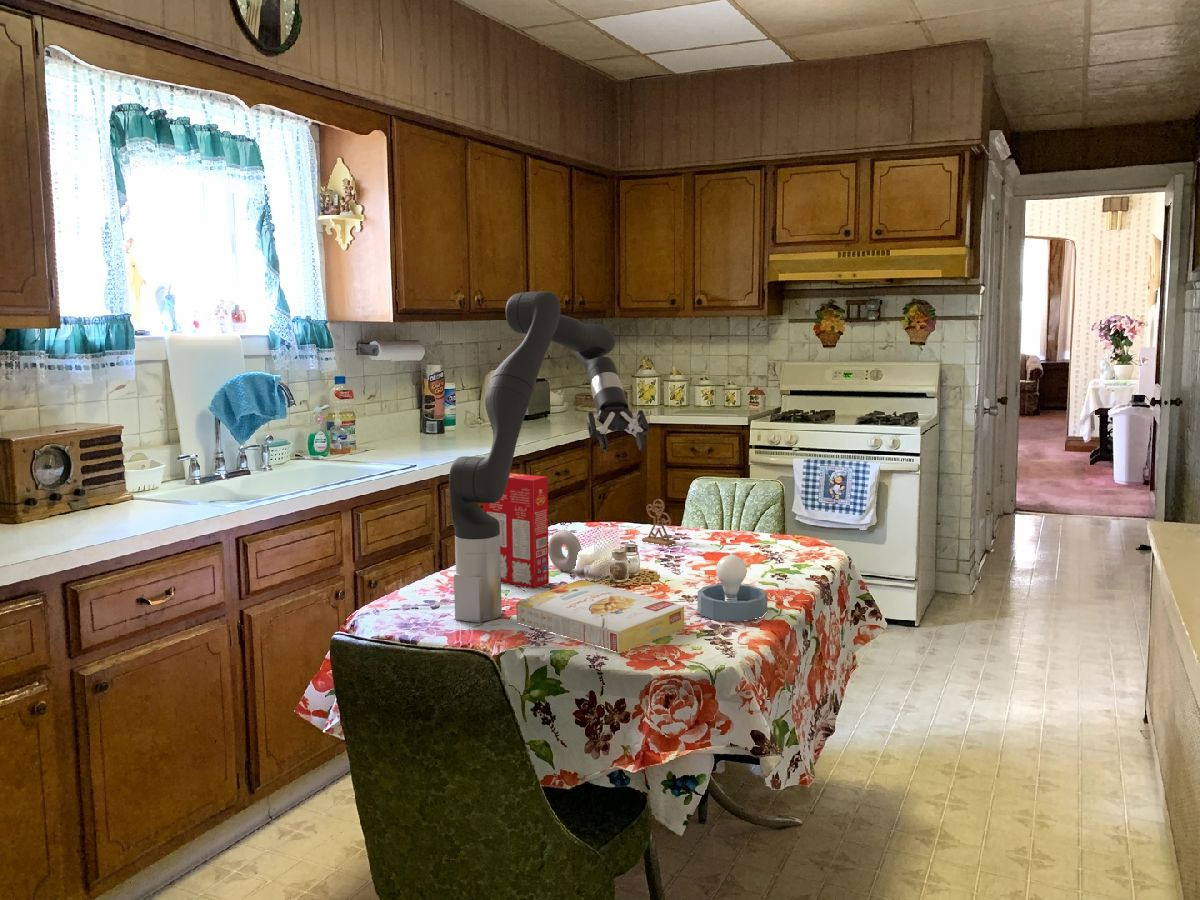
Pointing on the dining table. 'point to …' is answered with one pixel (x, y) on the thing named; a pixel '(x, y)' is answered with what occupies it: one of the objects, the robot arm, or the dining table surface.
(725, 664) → the dining table surface
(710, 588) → the bowl
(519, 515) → the food packaging
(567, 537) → the donut
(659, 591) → the dining table surface
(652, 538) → the gingerbread man figurine
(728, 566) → the lightbulb
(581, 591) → the cereal box
